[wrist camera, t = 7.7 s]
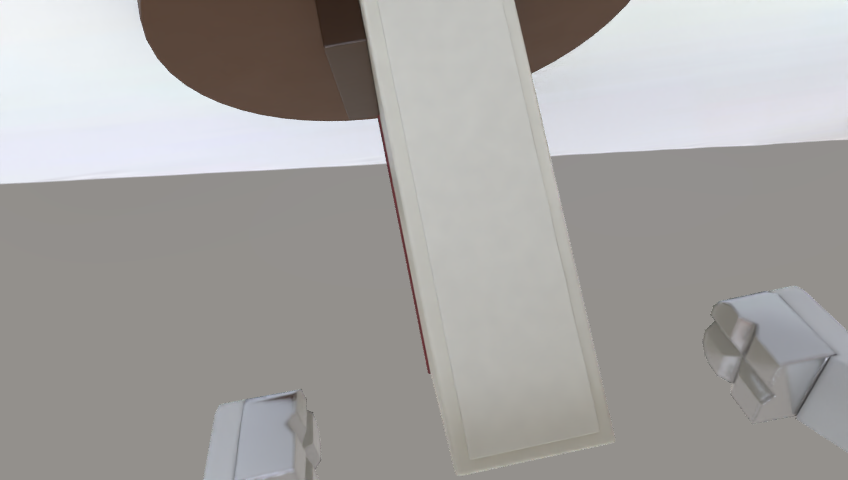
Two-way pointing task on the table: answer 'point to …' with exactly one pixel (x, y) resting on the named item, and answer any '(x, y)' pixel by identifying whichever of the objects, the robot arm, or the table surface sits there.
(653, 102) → the table surface
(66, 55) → the table surface
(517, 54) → the upright block on disc
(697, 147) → the table surface
